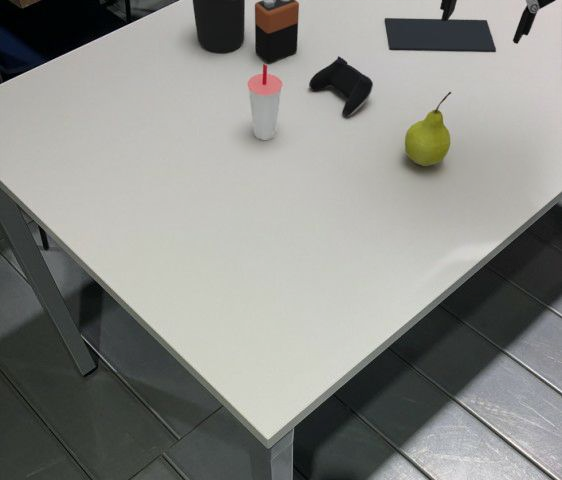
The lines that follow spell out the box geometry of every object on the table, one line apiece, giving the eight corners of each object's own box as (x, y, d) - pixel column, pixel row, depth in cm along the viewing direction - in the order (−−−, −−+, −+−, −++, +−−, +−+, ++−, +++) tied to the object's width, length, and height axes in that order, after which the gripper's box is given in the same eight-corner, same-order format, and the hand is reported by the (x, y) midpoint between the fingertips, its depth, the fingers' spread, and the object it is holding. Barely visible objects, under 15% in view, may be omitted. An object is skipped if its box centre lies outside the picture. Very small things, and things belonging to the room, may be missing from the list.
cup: (266, 118, 105) (266, 50, 94) (287, 134, 103) (290, 66, 92) (242, 132, 103) (239, 64, 92) (263, 148, 101) (263, 80, 90)
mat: (486, 22, 121) (486, 19, 121) (495, 51, 116) (496, 49, 116) (384, 19, 121) (384, 17, 121) (389, 49, 116) (389, 47, 115)
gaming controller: (356, 125, 108) (382, 89, 105) (345, 116, 104) (372, 78, 101) (316, 93, 112) (340, 58, 109) (304, 83, 108) (329, 46, 105)
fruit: (406, 177, 98) (423, 110, 88) (396, 148, 101) (410, 80, 91) (448, 173, 99) (469, 106, 88) (436, 144, 102) (455, 77, 92)
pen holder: (248, 53, 114) (247, -3, 106) (197, 56, 113) (192, 0, 105) (243, 24, 119) (241, -32, 110) (194, 27, 118) (188, -29, 110)
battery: (254, 53, 114) (253, -4, 106) (284, 41, 116) (285, -15, 108) (267, 65, 112) (267, 8, 104) (298, 53, 115) (300, -3, 106)
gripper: (620, -128, 66) (555, 32, 80) (465, -164, 69) (430, -5, 84) (604, -100, 62) (538, 62, 77) (442, -140, 66) (409, 22, 81)
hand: (482, 27), depth 80 cm, fingers open, 9 cm apart
